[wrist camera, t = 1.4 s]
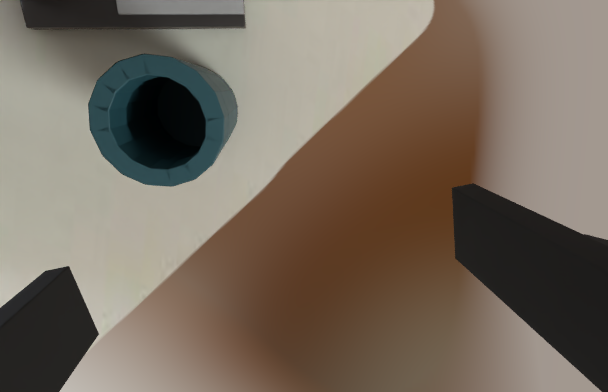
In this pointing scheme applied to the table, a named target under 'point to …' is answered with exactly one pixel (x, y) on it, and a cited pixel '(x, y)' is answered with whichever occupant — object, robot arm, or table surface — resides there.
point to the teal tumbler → (161, 118)
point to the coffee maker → (133, 14)
